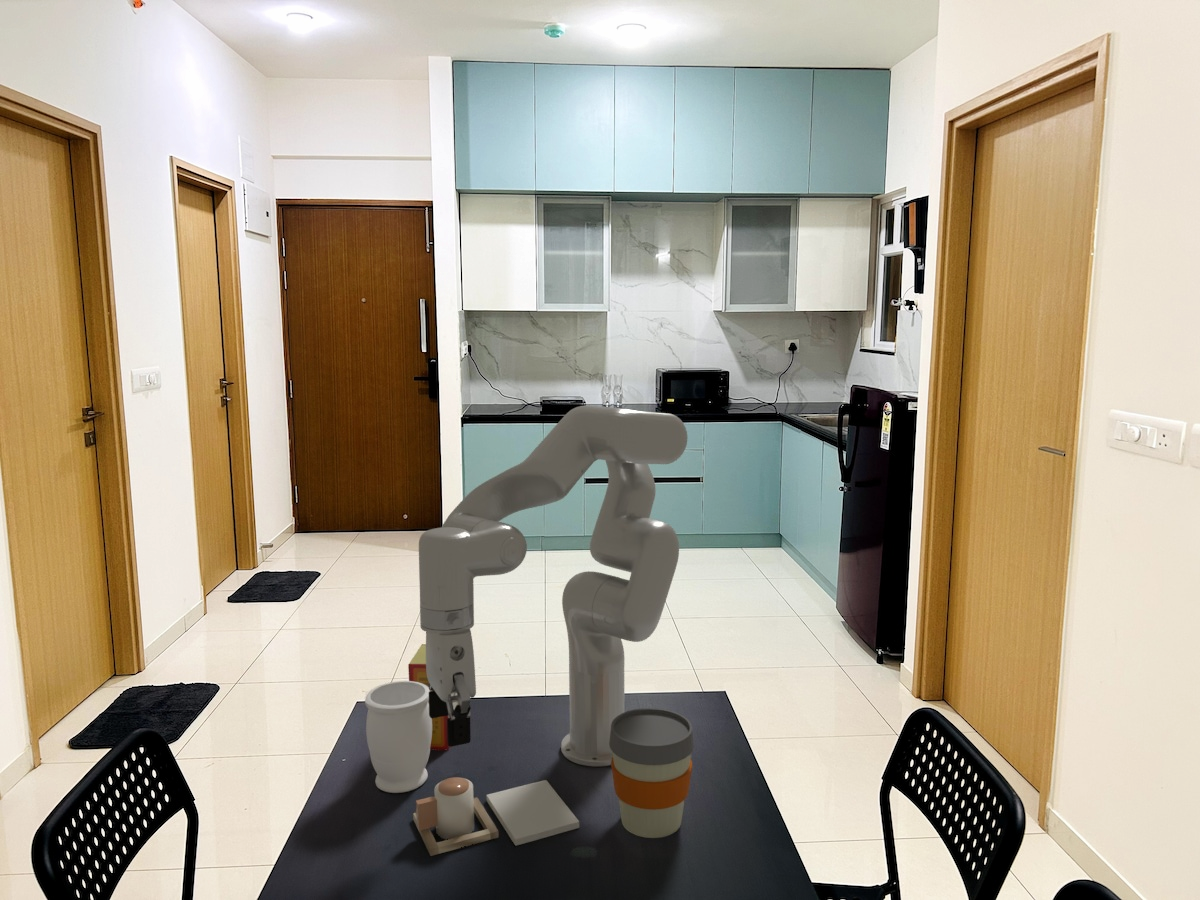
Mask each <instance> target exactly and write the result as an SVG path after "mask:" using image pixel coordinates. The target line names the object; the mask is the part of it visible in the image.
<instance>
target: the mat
mask: <svg viewBox="0 0 1200 900" xmlns="http://www.w3.org/2000/svg"><path fill="white" fill-rule="evenodd" d="M486 802H487V804H488V806H489V807H490V809H491V810H492V811H493V814H494V815H495V816H496V818H497V819H498V821H499V822H500V824H501V825H502V827H503V829H504V830H505V831H506V833H507V835H508V837H509V838H510V840H511V842H513V843H512V844H514V845H515V846H519V845H523V844H526V843H531V842H534V841H538V840H541V839H544V838H548V837H551V836H552V837H553V836H555V835H558V834H562V833H566V832H569V831H573V830H576V829H580V821H579V819H578V818H577V817H576V816H575V814H574V813H573V812H572V810H571V809H570V807H568V805H566V803H565V801H564V800H563V799H562V798H561V797H560V796H559V795H558V793H557V792H556V790H555V789H554V787H552V785H551V784H550V783H549V782H548V780H547V779H543V780H541V781H540V780H539V781H536V782H531V783H528V784H524V785H521V786H520V785H519V786H515V787H512V788H509V789H503V790H500V791H495V792H493V793H489V794H486Z"/></svg>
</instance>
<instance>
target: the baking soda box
mask: <svg viewBox="0 0 1200 900" xmlns="http://www.w3.org/2000/svg"><path fill="white" fill-rule="evenodd" d="M407 668H408V669H407V670H408V681H415V682H420V683H423V684H425V685H427V686H428V687H429V681H428V678H427V672H426V643H425V644H424V643H423V644H422V643H421V645H420V646H419V648H418V649H417V651H416V652H415V654H414V655H413V657H412V658H411V660H410V662H409V663H408V666H407ZM432 691H433V690H432ZM430 692H431V691H430ZM456 695H457V693H453V694H451V696H456ZM428 703H429V701H428ZM456 705H459V703H458V702H453V708H454V709H455V707H456ZM447 718H449V715H447V716H442V717H437V718H432V738H431V745H430V749H431V750H430V751H449V750H450V749H449V748H451V747H449V746H448V744H447ZM432 749H434V750H432ZM435 749H436V750H435ZM438 749H439V750H438ZM445 749H447V750H445ZM448 749H449V750H448Z"/></svg>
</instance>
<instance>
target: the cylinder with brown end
mask: <svg viewBox="0 0 1200 900" xmlns="http://www.w3.org/2000/svg"><path fill="white" fill-rule="evenodd" d="M433 792H434V793H433V794H434V795H433V796H430V797H429V796H428V797H425V798H421V799H417V800H415V811H416V812H415V813H416V817H417V826H416V828H417V827H418V828H417V830H418V829H419V830H422V829H426V828H430V829H431V828H433V827H435V833H436V835H437V834H438V835H437V836H438V837H439V836H440V837H439V838H441V839H444V840H447V839H452V838H456V837H459V836H463V835H467V834H471V833H473V832H472V831H475V813H474V799H473V798H474V784H473V782H472V781H470V780H469V779H467V778H465V777H459V776H457V777H456V776H455V777H449V778H445V779H444V780H441V781H440V782H438V783H437V784H435V786H434V791H433ZM419 830H418V831H419Z"/></svg>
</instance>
